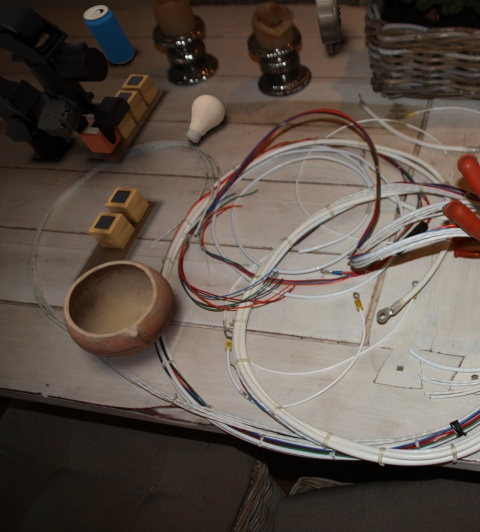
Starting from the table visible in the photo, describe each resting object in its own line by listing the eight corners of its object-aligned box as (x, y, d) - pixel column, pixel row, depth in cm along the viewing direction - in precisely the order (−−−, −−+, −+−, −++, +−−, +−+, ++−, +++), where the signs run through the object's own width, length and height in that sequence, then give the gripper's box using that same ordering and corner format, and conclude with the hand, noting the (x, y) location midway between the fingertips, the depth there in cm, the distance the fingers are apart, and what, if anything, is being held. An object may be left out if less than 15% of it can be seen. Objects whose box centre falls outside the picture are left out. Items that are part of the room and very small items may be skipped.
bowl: (161, 374, 83) (127, 346, 75) (73, 362, 86) (31, 334, 78) (199, 288, 92) (172, 254, 84) (117, 280, 95) (83, 246, 87)
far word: (90, 159, 114) (75, 140, 109) (138, 91, 125) (126, 71, 121) (119, 161, 112) (105, 142, 108) (165, 92, 124) (154, 72, 120)
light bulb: (188, 134, 107) (215, 89, 109) (168, 130, 111) (195, 86, 113) (211, 153, 113) (236, 109, 115) (191, 148, 116) (216, 106, 118)
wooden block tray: (79, 278, 96) (60, 261, 92) (126, 201, 106) (111, 182, 101) (113, 282, 95) (96, 265, 90) (158, 204, 104) (144, 185, 100)
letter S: (92, 152, 112) (78, 134, 108) (102, 136, 115) (89, 119, 111) (110, 153, 111) (97, 136, 107) (121, 138, 114) (108, 120, 110)
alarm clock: (323, 31, 131) (306, -38, 117) (345, 27, 130) (331, -42, 117) (325, 58, 124) (307, -11, 111) (348, 54, 124) (333, -16, 111)
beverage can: (141, 53, 134) (115, 7, 124) (122, 68, 131) (93, 22, 121) (124, 47, 136) (97, 1, 127) (105, 62, 134) (75, 16, 124)
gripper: (-12, 105, 97) (45, 167, 110) (77, 110, 93) (125, 173, 106) (23, 66, 103) (73, 129, 116) (108, 69, 99) (150, 134, 112)
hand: (104, 141), depth 112 cm, fingers closed on letter S, 4 cm apart
